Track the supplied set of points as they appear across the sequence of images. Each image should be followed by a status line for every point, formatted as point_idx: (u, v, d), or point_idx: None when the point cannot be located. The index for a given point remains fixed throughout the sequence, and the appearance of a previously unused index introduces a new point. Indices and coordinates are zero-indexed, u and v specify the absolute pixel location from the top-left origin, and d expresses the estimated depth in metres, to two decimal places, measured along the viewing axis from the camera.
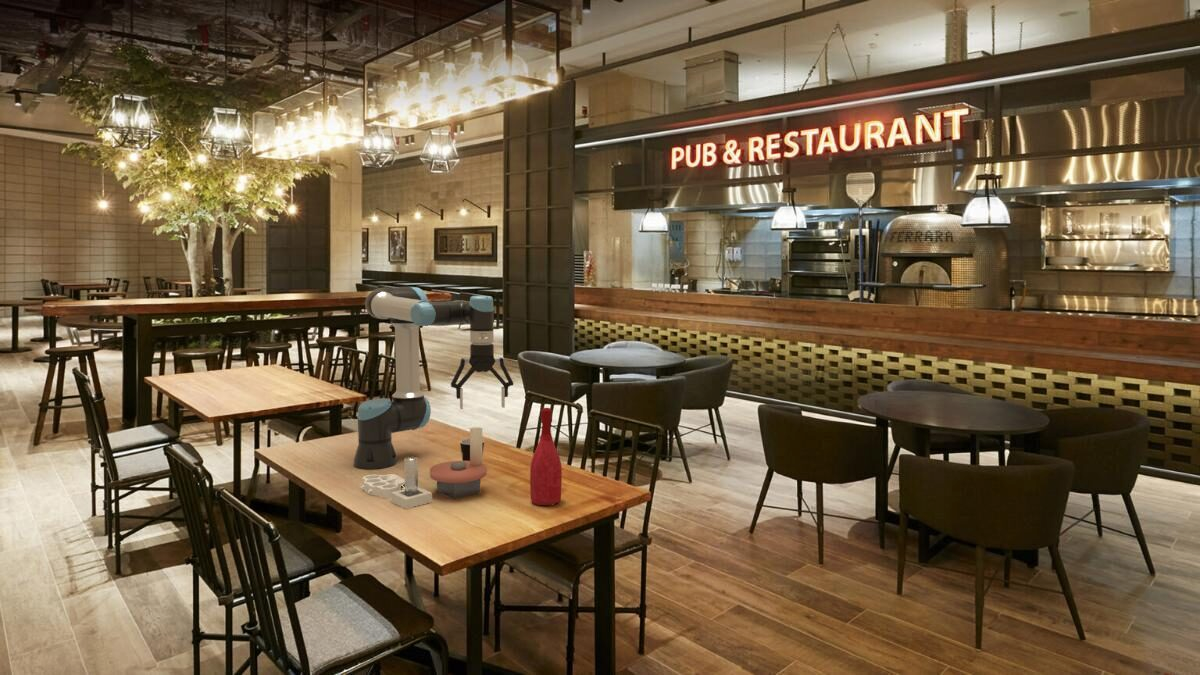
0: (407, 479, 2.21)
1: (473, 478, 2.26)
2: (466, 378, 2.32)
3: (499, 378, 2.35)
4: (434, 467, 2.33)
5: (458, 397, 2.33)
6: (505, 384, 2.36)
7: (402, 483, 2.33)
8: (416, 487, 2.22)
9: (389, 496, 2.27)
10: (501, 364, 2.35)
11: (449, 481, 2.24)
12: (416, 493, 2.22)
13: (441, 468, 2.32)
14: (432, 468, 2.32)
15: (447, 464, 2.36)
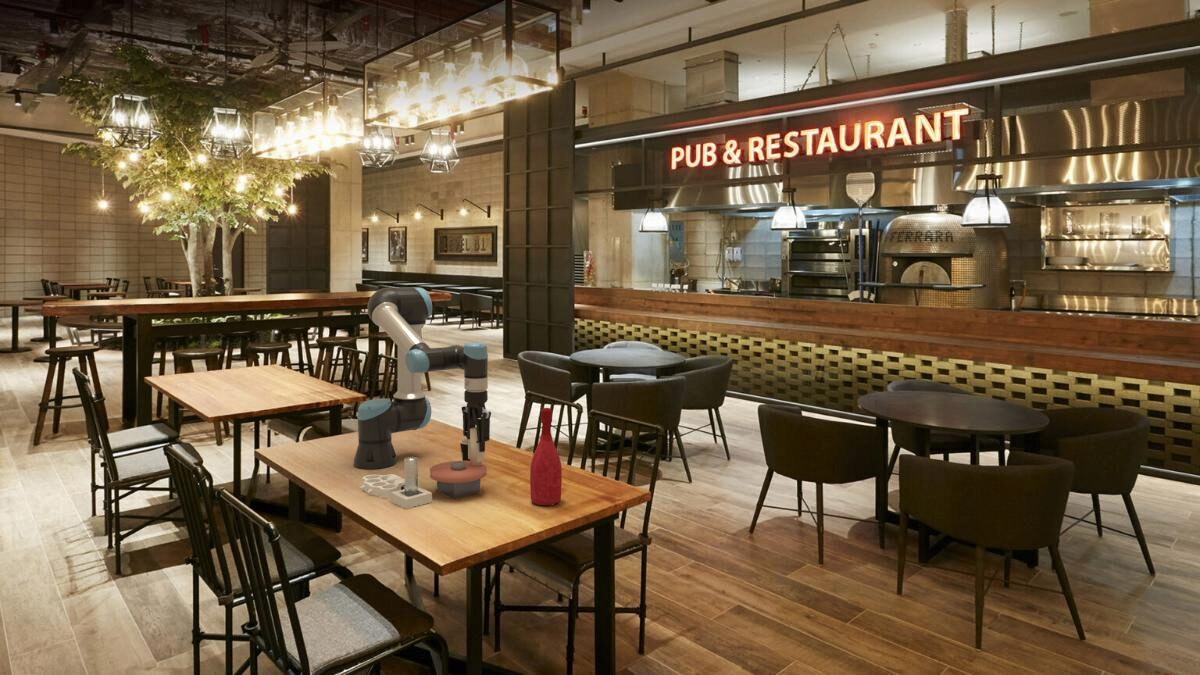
0: (407, 479, 2.21)
1: (473, 478, 2.26)
2: (468, 426, 2.37)
3: (477, 430, 2.33)
4: (434, 467, 2.33)
5: None
6: (479, 439, 2.33)
7: (402, 483, 2.33)
8: (416, 487, 2.22)
9: (389, 496, 2.27)
10: (482, 417, 2.31)
11: (449, 481, 2.24)
12: (416, 493, 2.22)
13: (441, 468, 2.32)
14: (432, 468, 2.32)
15: (447, 464, 2.36)
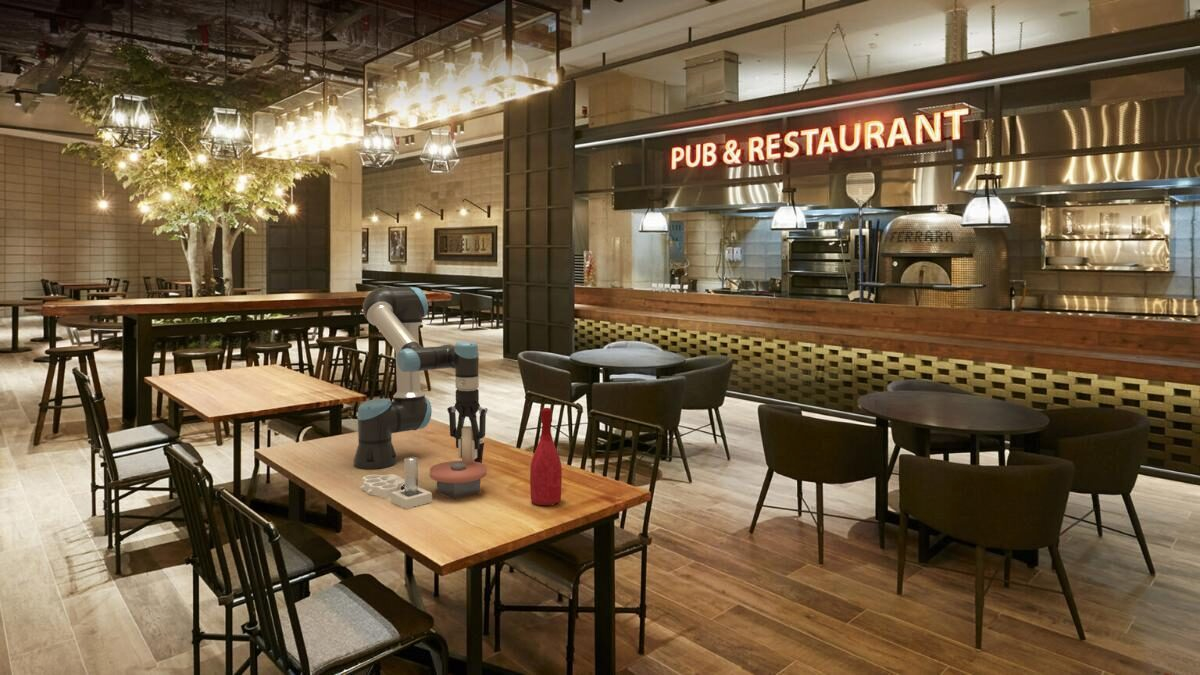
0: (407, 479, 2.21)
1: (483, 474, 2.30)
2: (459, 426, 2.37)
3: (473, 428, 2.36)
4: (433, 471, 2.29)
5: (457, 446, 2.38)
6: (475, 436, 2.36)
7: (402, 483, 2.33)
8: (416, 487, 2.22)
9: (389, 496, 2.27)
10: (481, 415, 2.35)
11: (464, 481, 2.24)
12: (416, 493, 2.22)
13: (441, 470, 2.30)
14: (433, 472, 2.28)
15: (441, 467, 2.34)
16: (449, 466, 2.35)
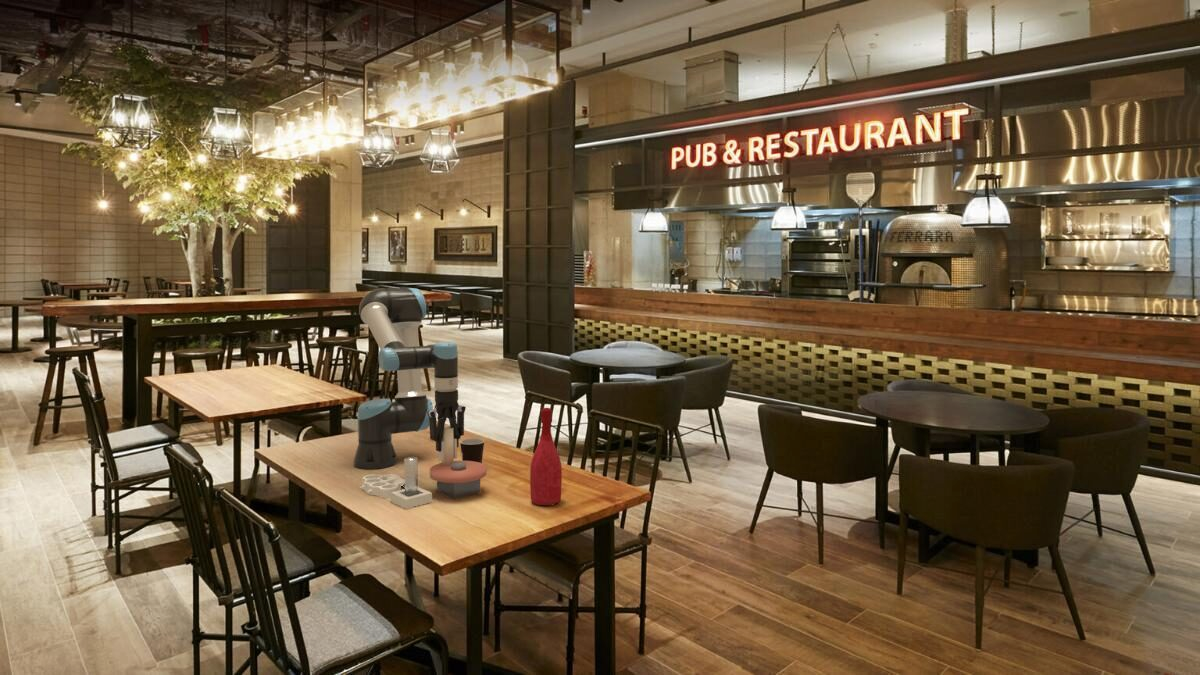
0: (407, 479, 2.21)
1: None
2: (442, 428, 2.34)
3: (455, 427, 2.37)
4: (449, 475, 2.25)
5: (439, 450, 2.34)
6: (457, 435, 2.38)
7: (402, 483, 2.33)
8: (416, 487, 2.22)
9: (389, 496, 2.27)
10: (462, 412, 2.39)
11: (484, 474, 2.31)
12: (416, 493, 2.22)
13: (454, 473, 2.27)
14: (452, 476, 2.24)
15: (442, 472, 2.28)
16: (445, 469, 2.31)
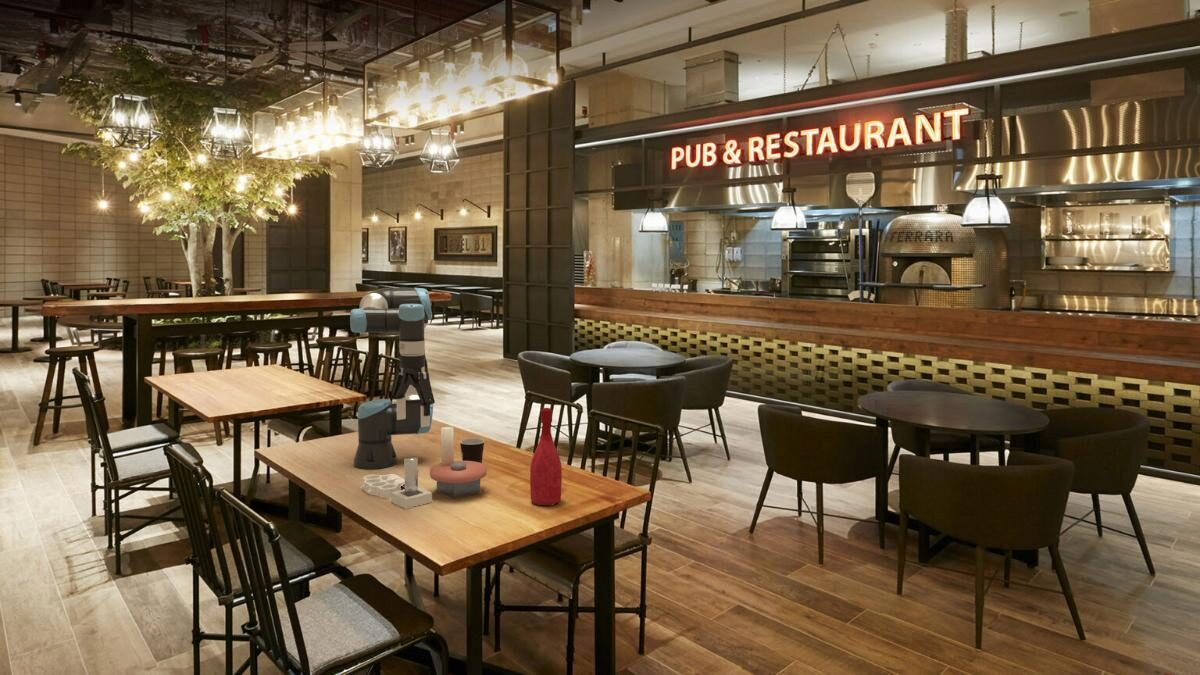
0: (407, 479, 2.21)
1: None
2: (400, 388, 2.23)
3: (419, 394, 2.16)
4: (449, 475, 2.25)
5: None
6: (422, 402, 2.15)
7: (402, 483, 2.33)
8: (416, 487, 2.22)
9: (388, 496, 2.27)
10: (420, 379, 2.15)
11: (484, 474, 2.31)
12: (416, 493, 2.22)
13: (454, 473, 2.27)
14: (453, 476, 2.24)
15: (442, 472, 2.28)
16: (445, 469, 2.31)
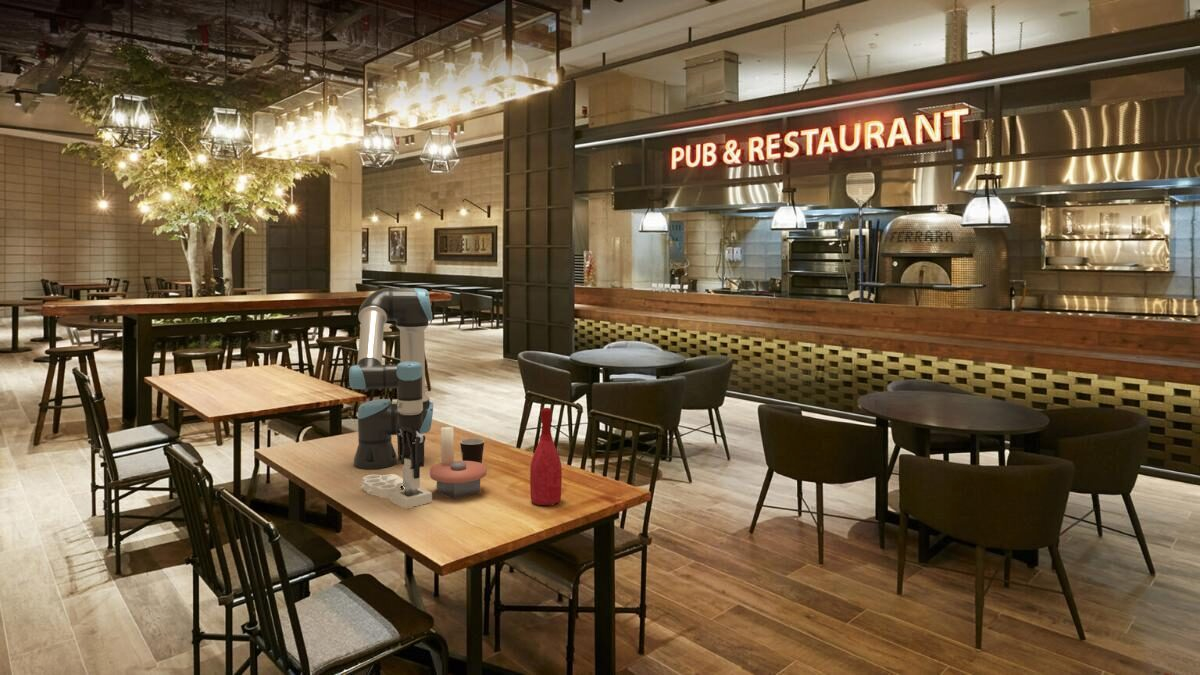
0: (407, 478, 2.21)
1: None
2: (403, 451, 2.23)
3: (411, 455, 2.19)
4: (449, 475, 2.25)
5: None
6: (412, 465, 2.19)
7: (401, 483, 2.33)
8: None
9: (388, 496, 2.27)
10: (416, 442, 2.17)
11: (484, 474, 2.31)
12: (415, 493, 2.22)
13: (454, 473, 2.27)
14: (453, 476, 2.24)
15: (442, 472, 2.28)
16: (445, 469, 2.31)
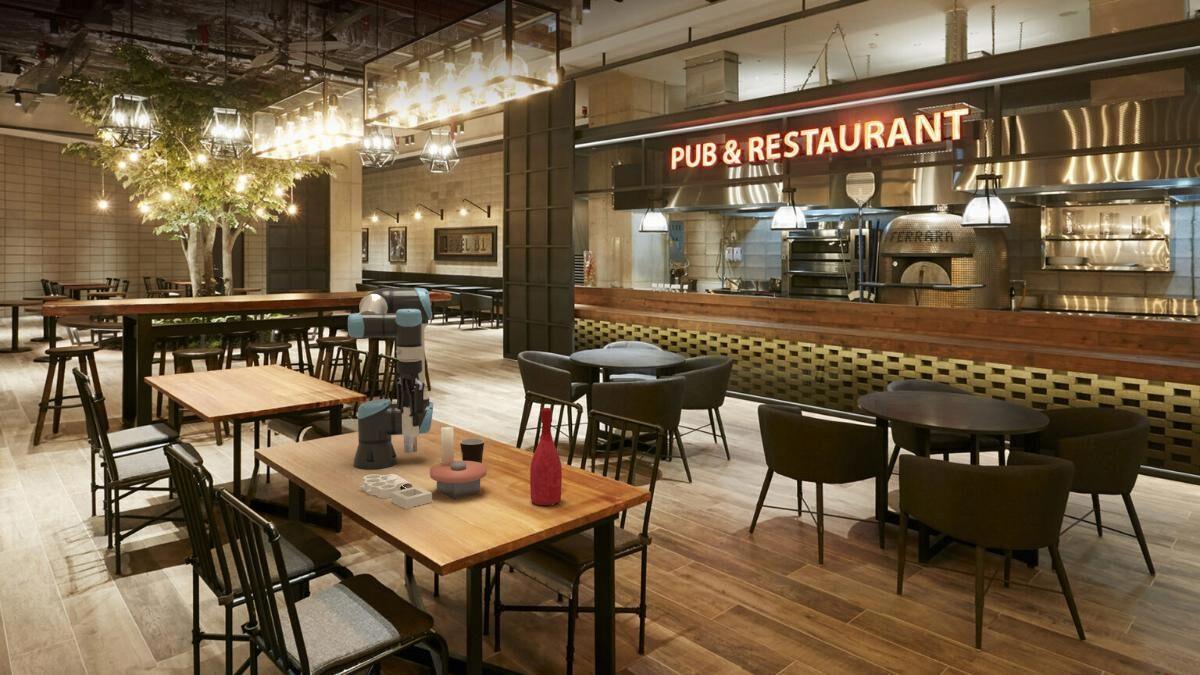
0: (406, 427, 2.19)
1: None
2: (402, 399, 2.21)
3: (410, 403, 2.17)
4: (449, 475, 2.25)
5: None
6: (412, 412, 2.17)
7: (401, 483, 2.33)
8: (415, 436, 2.21)
9: (387, 496, 2.27)
10: (415, 389, 2.15)
11: (484, 474, 2.31)
12: (415, 442, 2.20)
13: (454, 473, 2.27)
14: (453, 476, 2.24)
15: (442, 472, 2.28)
16: (445, 469, 2.31)
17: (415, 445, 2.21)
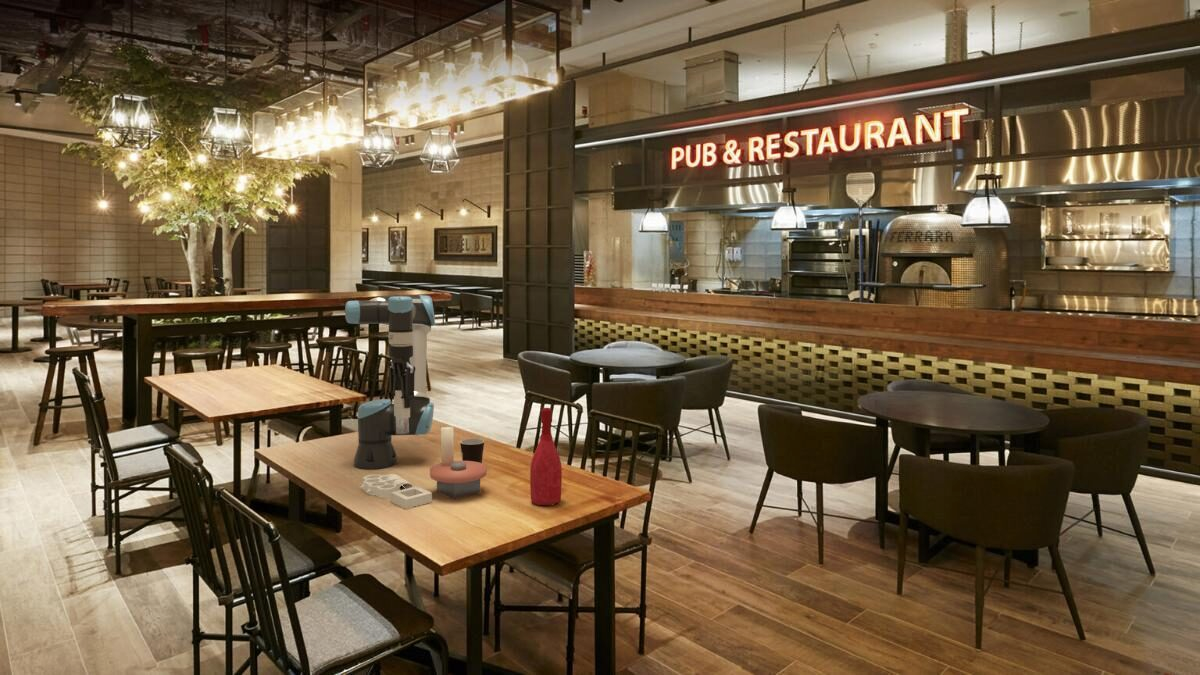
0: (398, 409, 2.30)
1: None
2: (394, 382, 2.32)
3: (402, 386, 2.28)
4: (449, 475, 2.25)
5: None
6: (403, 394, 2.28)
7: (401, 483, 2.33)
8: (407, 418, 2.31)
9: (387, 496, 2.27)
10: (406, 372, 2.26)
11: (484, 474, 2.31)
12: (406, 424, 2.31)
13: (454, 473, 2.27)
14: (453, 476, 2.24)
15: (442, 472, 2.28)
16: (445, 469, 2.31)
17: (406, 427, 2.31)
